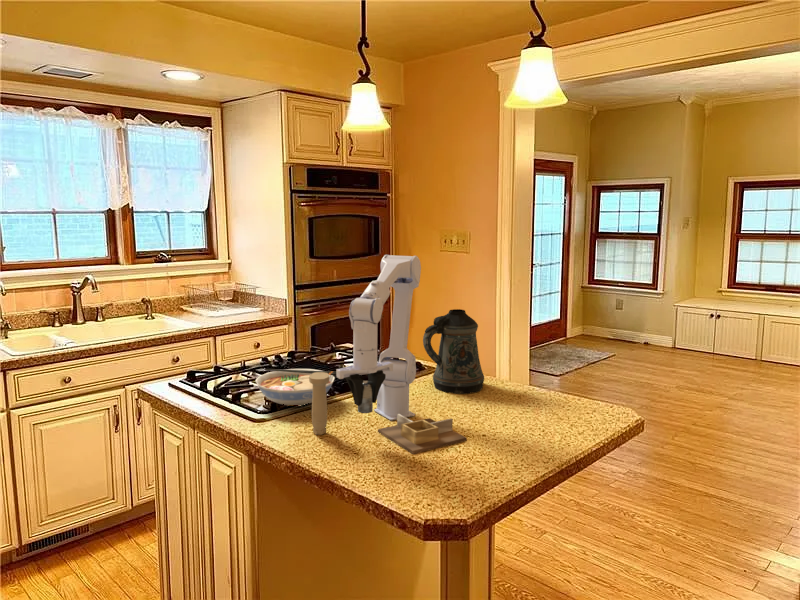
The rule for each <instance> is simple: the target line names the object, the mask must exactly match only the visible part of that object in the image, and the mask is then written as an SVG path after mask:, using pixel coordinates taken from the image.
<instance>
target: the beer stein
mask: <svg viewBox="0 0 800 600" xmlns="http://www.w3.org/2000/svg"><path fill="white" fill-rule="evenodd" d="M478 329H479V324H478V323H477V322H476V320H475V319H473V318H472V317H471V316H469V315H468V314H467V313H466V310H465V309H460V308H459V309H458V308H454V309H449V310H448V313H446V314H445V315H440V316H437V317H434V318H433V324H431V325H429V326H428V327H426V329H425V330H424V334H423V335H422V342H423V343H422V344H423V348H424V351H425V352H426V354H427V355H428V356H429V358H430V359H431V360H432V361H433V362H434V363H435V364H436V366H435V370H434V372H433V374H432V380H433V385H434V388H435V389H436V390H437V391H440V392H443V393H447V394H455V395H469V394H474V393H475V394H476V393H478V392H481V390H482V389H483V386H484V382H485V374H484V373H483V372H484V371H483V370H482V366H481V362H480V355H479V348H478V340H477V331H478ZM436 334H437V335H439V334H440V335H441V336H440V341H439V346H438V354H437V352H436V351H435V350H434V348H433V345H432V338H433V336H434V335H436Z"/></svg>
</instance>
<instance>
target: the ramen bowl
mask: <svg viewBox="0 0 800 600" xmlns="http://www.w3.org/2000/svg"><path fill="white" fill-rule="evenodd" d="M264 371H268V372H266V373H264V374H261V375H259V376H258V377H257V378H256V379H255V383H256V385H257V386H258V387H257V388H258V389H259V391H260V392H261V393H262V394H263V396H264V397H265V398H266V399H268V400H270V401H271V400H272V401H271V402H274V403H276V404H279V405H283V404H284V405H283V406H285V405H304V404H307V405H308V403H309V404H312V395H313V384H312V383H310V382H309V376H310V374H312V373H315V372H325V373H328V374H329V382H328V383H327V384H326V394H327V393H328V392H329V391H330V389H331V388H332V386H333V383H334V381H335V379H336V371H330V370H329V371H328V370H326V371H325V370H321V369H313V368H288V369H279V368H278V369H275V368H265V369H264ZM269 371H270V372H269Z"/></svg>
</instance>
